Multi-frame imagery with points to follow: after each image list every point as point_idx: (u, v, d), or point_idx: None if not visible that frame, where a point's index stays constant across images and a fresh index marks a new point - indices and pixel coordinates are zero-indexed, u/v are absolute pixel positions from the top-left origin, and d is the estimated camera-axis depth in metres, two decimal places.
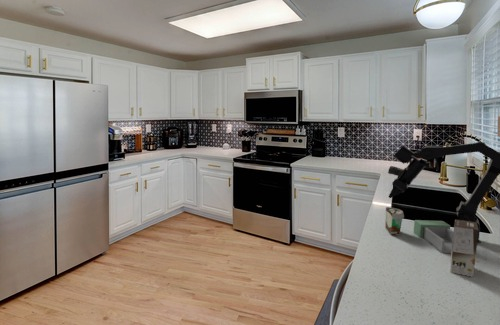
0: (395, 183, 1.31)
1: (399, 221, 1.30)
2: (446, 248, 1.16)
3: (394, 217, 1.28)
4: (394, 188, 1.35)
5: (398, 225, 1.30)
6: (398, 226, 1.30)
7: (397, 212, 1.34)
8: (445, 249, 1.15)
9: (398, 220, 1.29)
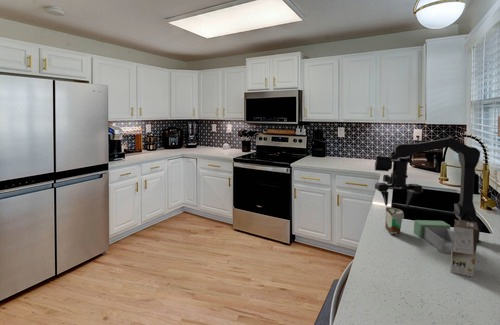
0: (375, 186, 1.35)
1: (399, 221, 1.30)
2: (446, 248, 1.16)
3: (394, 217, 1.28)
4: (382, 193, 1.34)
5: (398, 225, 1.30)
6: (398, 226, 1.30)
7: (397, 212, 1.34)
8: (445, 249, 1.15)
9: (398, 220, 1.29)
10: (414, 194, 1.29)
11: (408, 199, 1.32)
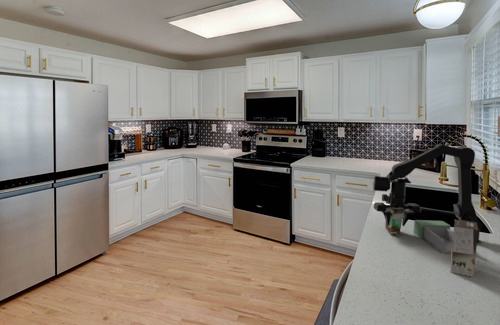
0: (374, 206, 1.36)
1: (399, 221, 1.30)
2: (446, 248, 1.16)
3: (394, 217, 1.28)
4: (384, 213, 1.35)
5: (398, 225, 1.30)
6: (398, 226, 1.30)
7: (397, 212, 1.34)
8: (445, 249, 1.15)
9: (398, 220, 1.29)
10: (410, 214, 1.30)
11: (404, 219, 1.33)
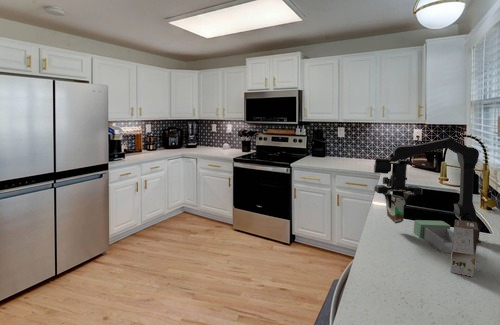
0: (374, 189, 1.35)
1: (401, 208, 1.29)
2: (446, 248, 1.16)
3: (397, 205, 1.27)
4: (386, 196, 1.34)
5: (401, 212, 1.29)
6: (401, 213, 1.29)
7: (397, 199, 1.33)
8: (445, 249, 1.15)
9: (400, 207, 1.28)
10: (410, 196, 1.29)
11: None
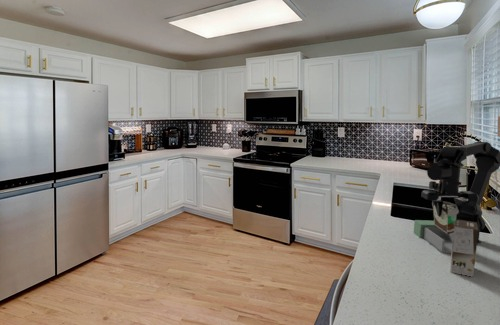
0: (421, 195, 1.20)
1: (454, 217, 1.13)
2: (446, 248, 1.16)
3: (450, 214, 1.12)
4: (435, 203, 1.18)
5: (454, 221, 1.14)
6: (454, 222, 1.14)
7: (448, 206, 1.18)
8: (445, 249, 1.15)
9: (454, 216, 1.13)
10: (464, 203, 1.14)
11: None
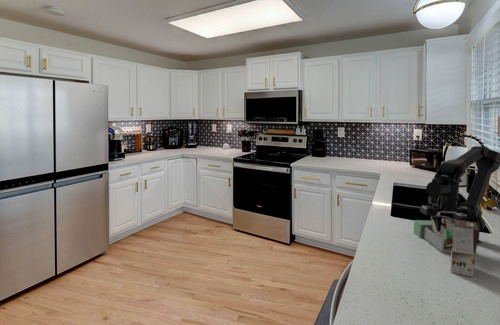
0: (421, 210, 1.20)
1: (453, 232, 1.14)
2: None
3: (449, 228, 1.13)
4: (434, 218, 1.19)
5: None
6: None
7: (447, 220, 1.19)
8: (445, 249, 1.15)
9: (452, 231, 1.14)
10: (463, 219, 1.15)
11: None
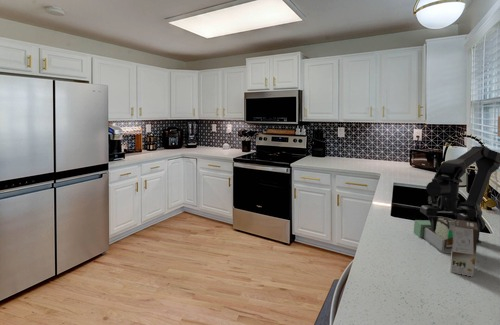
0: (420, 210, 1.20)
1: None
2: None
3: (452, 228, 1.13)
4: (429, 218, 1.19)
5: None
6: None
7: (450, 222, 1.19)
8: (445, 249, 1.15)
9: None
10: (467, 219, 1.15)
11: None
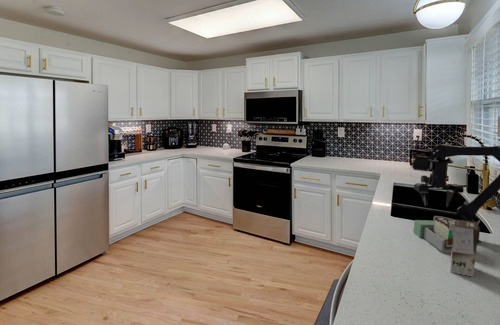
0: (414, 187, 1.35)
1: None
2: None
3: (452, 228, 1.13)
4: (422, 194, 1.34)
5: None
6: None
7: (450, 222, 1.19)
8: (445, 249, 1.15)
9: None
10: (455, 194, 1.29)
11: (448, 199, 1.32)
